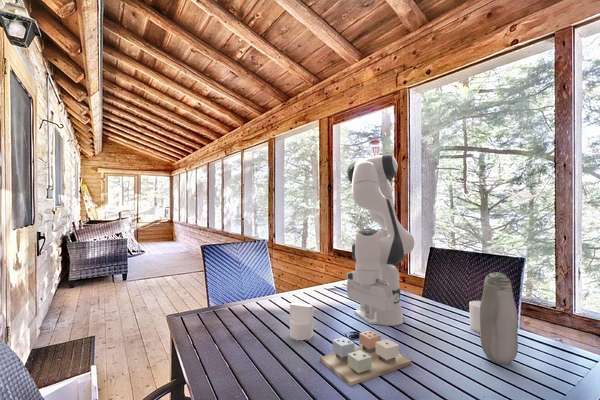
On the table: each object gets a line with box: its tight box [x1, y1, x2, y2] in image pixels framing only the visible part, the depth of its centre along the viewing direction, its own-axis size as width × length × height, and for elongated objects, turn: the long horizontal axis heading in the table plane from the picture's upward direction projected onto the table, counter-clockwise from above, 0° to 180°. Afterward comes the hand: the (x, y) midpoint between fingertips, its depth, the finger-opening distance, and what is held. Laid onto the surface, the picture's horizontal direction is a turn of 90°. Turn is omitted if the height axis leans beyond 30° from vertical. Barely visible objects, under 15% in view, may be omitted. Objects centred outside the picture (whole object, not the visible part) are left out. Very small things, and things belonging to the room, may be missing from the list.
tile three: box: [332, 336, 356, 357], centre depth 100 cm, size 5×5×4 cm
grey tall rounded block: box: [480, 271, 519, 365], centre depth 99 cm, size 10×10×28 cm
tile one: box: [375, 338, 400, 360], centre depth 98 cm, size 5×5×4 cm
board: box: [319, 344, 413, 387], centre depth 99 cm, size 16×24×4 cm, turn 118°
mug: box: [468, 300, 481, 334], centre depth 122 cm, size 12×8×10 cm
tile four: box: [358, 330, 382, 349], centre depth 105 cm, size 5×5×4 cm
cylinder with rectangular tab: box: [289, 301, 314, 341], centre depth 120 cm, size 9×9×12 cm
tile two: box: [348, 350, 372, 373], centre depth 93 cm, size 5×5×4 cm
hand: (369, 318), depth 105 cm, fingers closed
